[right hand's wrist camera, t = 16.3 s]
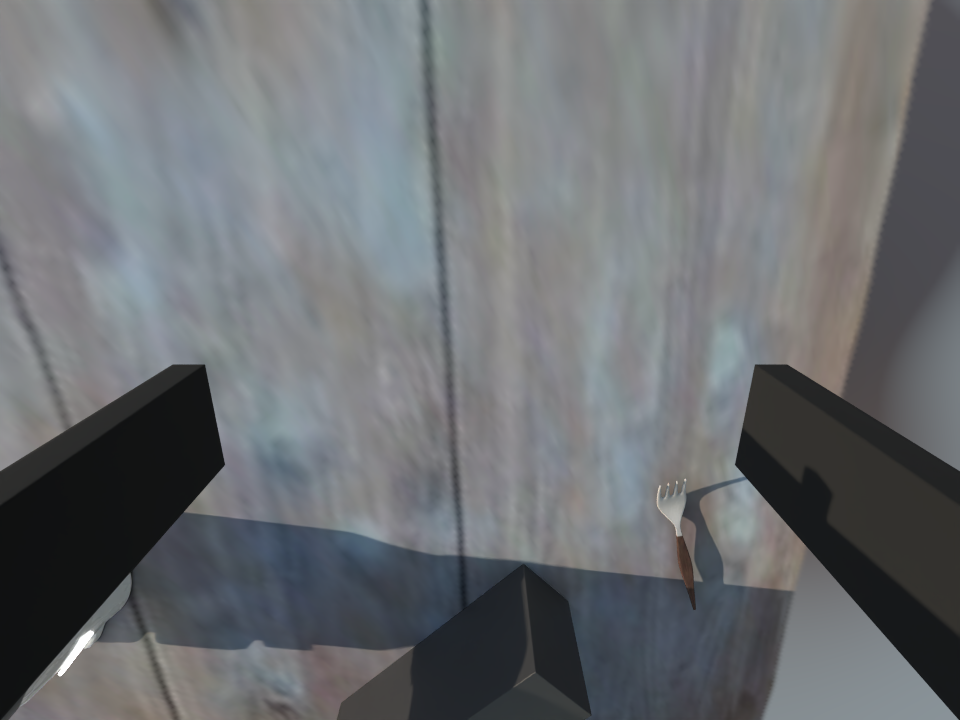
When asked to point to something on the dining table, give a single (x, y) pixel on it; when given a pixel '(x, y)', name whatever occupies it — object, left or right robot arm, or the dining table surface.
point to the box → (486, 663)
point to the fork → (678, 532)
